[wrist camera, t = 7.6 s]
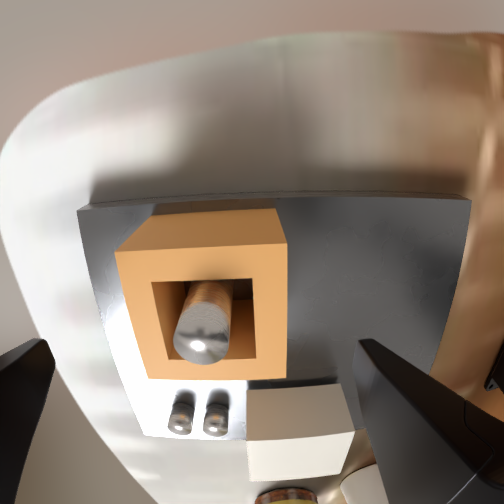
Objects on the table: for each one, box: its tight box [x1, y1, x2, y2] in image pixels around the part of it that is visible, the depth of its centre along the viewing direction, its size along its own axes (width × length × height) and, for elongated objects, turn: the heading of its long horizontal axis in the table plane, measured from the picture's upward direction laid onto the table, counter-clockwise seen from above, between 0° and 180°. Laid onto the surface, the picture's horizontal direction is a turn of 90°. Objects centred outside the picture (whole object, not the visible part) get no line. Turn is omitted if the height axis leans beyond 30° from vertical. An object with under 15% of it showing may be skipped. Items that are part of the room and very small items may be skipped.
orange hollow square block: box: [114, 208, 287, 381], centre depth 12 cm, size 5×5×4 cm
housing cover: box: [246, 383, 355, 482], centre depth 15 cm, size 5×4×3 cm
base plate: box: [77, 191, 472, 440], centre depth 13 cm, size 18×15×6 cm
